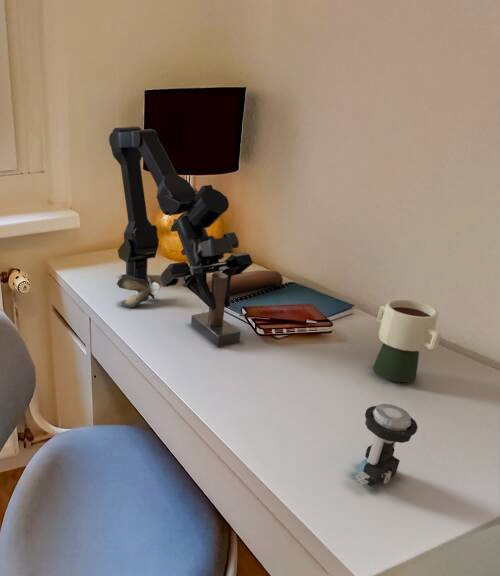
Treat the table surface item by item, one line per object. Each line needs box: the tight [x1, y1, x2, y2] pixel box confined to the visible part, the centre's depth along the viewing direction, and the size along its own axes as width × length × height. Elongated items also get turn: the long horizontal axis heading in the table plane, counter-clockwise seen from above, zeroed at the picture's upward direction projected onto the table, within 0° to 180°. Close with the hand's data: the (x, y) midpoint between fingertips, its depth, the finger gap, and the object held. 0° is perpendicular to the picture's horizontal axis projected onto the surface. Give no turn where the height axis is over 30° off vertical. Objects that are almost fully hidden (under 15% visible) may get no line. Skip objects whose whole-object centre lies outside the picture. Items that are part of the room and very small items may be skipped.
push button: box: [353, 403, 418, 487], centre depth 57 cm, size 7×5×10 cm
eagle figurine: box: [116, 276, 161, 308], centre depth 109 cm, size 8×7×9 cm
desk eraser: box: [190, 273, 242, 348], centre depth 92 cm, size 10×5×13 cm, turn 19°
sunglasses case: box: [207, 269, 284, 295], centre depth 115 cm, size 18×7×7 cm
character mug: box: [372, 299, 442, 383], centre depth 77 cm, size 11×7×13 cm, turn 14°
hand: (221, 307), depth 91 cm, fingers closed on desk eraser, 3 cm apart
